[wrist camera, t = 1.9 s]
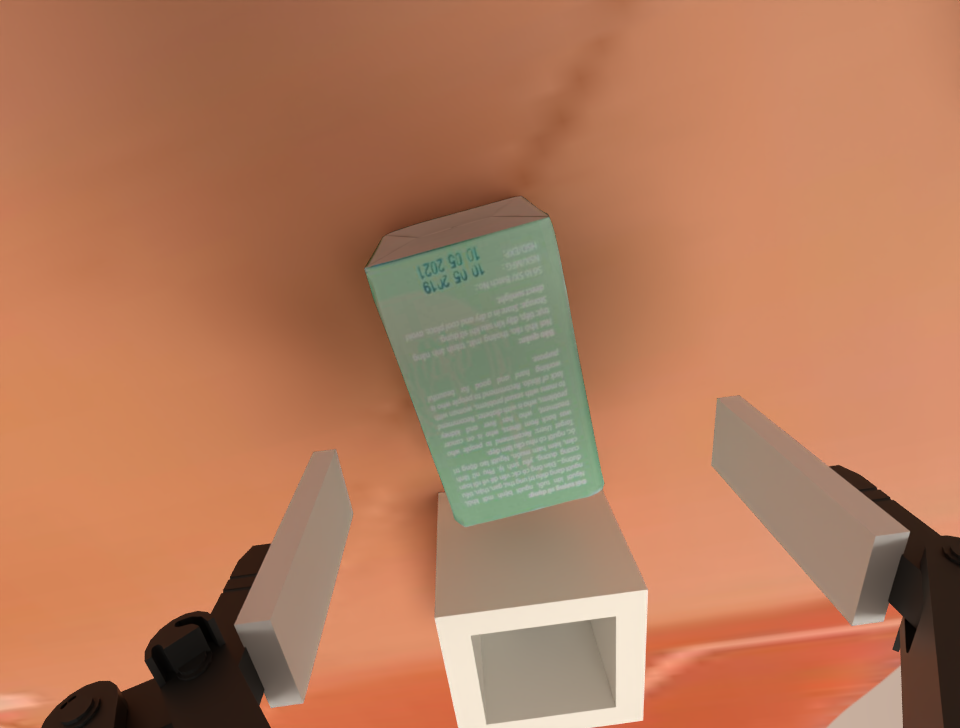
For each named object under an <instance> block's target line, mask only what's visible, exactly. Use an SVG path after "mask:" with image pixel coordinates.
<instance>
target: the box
mask: <svg viewBox="0 0 960 728" xmlns="http://www.w3.org/2000/svg"><path fill="white" fill-rule="evenodd" d="M364 269H365V272H366V275H367V279H368V282H369V285H370V289H371V292H372V295H373V299H374V302H375V304H376V307H377V309H378V312H379V315H380V317H381V320H382V323H383V325H384V328H385V330H386V333H387V336H388V338H389V341H390V344H391V346H392V349H393V352H394V354H395V357H396V360H397V362H398V365H399V368H400V370H401V373H402V376H403V378H404V381H405V384H406V386H407V389H408V392H409V394H410V397H411V400H412V403H413V405H414V408H415V411H416V413H417V416H418V419H419V421H420V424H421V427H422V430H423V433H424V435H425V438H426V441H427V444H428V447H429V449H430V452H431V455H432V457H433V460H434V463H435V466H436V468H437V471H438V474H439V476H440V479H441V482H442V484H443V487H444V490H445V492H446V495H447V498H448V501H449V503H450V506H451V509H452V512H453V516H454V519H455V520H456V521H457V522H458V523H459V524H461V525H462V526H464V527H469V526H473V525H476V524H481V523H485V522H489V521H493V520H498V519H502V518H506V517H510V516H514V515H518V514H522V513H526V512H530V511H534V510H538V509H541V508H545V507H549V506H553V505H557V504H560V503H564V502H568V501H572V500H576V499H581V498H585V497H589V496H592V495H594V494H597V493H598V492H599V491H601V490H602V489H603V486H604V480H603V476H602V473H601V467H600V462H599V457H598V452H597V447H596V442H595V437H594V432H593V427H592V422H591V417H590V411H589V406H588V401H587V396H586V391H585V386H584V381H583V376H582V371H581V366H580V361H579V356H578V351H577V345H576V340H575V335H574V330H573V324H572V318H571V313H570V307H569V301H568V296H567V290H566V285H565V280H564V275H563V270H562V265H561V260H560V255H559V250H558V246H557V241H556V236H555V232H554V229H553V225H552V222H551V220H550V218H549V215H548V214H547V213H545V212H543V211H541V210H539V209H538V208H537V207H535V206H534V205H533V204H532V203H530V202H529V201H528V200H526V199H525V198H524V197H522V196H518V197H513V198H509V199H505V200H502V201H498V202H494V203H491V204H487V205H483V206H480V207H476V208H472V209H469V210H465V211H461V212H458V213H454V214H450V215H447V216H443V217H440V218H436V219H432V220H429V221H425V222H422V223H418V224H415V225H412V226H409V227H406V228H403V229H400V230H397V231H394V232H391V233H389V234H387V235H385V236H384V237H382V239H381V241H380V243H379V244H378V246H377V248H376V250H375V251H374V253H373V255H372V257H371V258H370V260H369V262H368V263H367V265H366V267H365V268H364Z"/></svg>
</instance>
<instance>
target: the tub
mask: <svg viewBox="0 0 960 728" xmlns="http://www.w3.org/2000/svg"><path fill="white" fill-rule="evenodd" d="M647 602H648V588H647V586H646V584H645V582H644V580H643V577H642V575H641V573H640V571H639V569H638V567H637V564H636V562H635V560H634V558H633V556H632V553H631V551H630V549H629V547H628V545H627V542H626V540H625V538H624V536H623V534H622V532H621V529H620V527H619V525H618V523H617V521H616V518H615V516H614V514H613V512H612V510H611V507H610V505H609V503H608V501H607V499H606V496H605V494H604V492H603V490H601V491H599V492H598V493H597V494H594V495H592V496H589V497H585V498H581V499H576V500H572V501H568V502H564V503H560V504H557V505H553V506H549V507H545V508H541V509H538V510H534V511H530V512H526V513H522V514H518V515H514V516H510V517H506V518H502V519H498V520H493V521H489V522H485V523H481V524H476V525H473V526H469V527H464V526H462V525H461V524H459V523H458V522H457V521H456V520H455V519H454V516H453V512H452V509H451V506H450V503H449V501H448V498H447V495H446V492H441V493H438V520H437V554H436V587H435V622H436V627H437V631H438V636H439V641H440V645H441V650H442V654H443V659H444V664H445V668H446V673H447V677H448V682H449V687H450V691H451V696H452V700H453V705H454V710H455V714H456V719H457V723H458V728H592V727H599V726H607V725H614V724H621V723H629V722H636V721H643V707H644V681H645V655H646V629H647Z"/></svg>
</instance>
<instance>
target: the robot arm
mask: <svg viewBox="0 0 960 728" xmlns="http://www.w3.org/2000/svg"><path fill="white" fill-rule="evenodd" d="M711 465H712V466H713V468H714V469H715V470H716V471H717V472H718V473H719V474H720V476H721V477H722V478H723V479H724V480H725V481H726V482H727V484H728V485H729V486H730V487H731V488H732V489H733V490H734V492H735V493H736V494H737V495H738V496H739V497H740V498H741V500H742V501H743V502H744V503H745V504H746V505H747V506H748V508H749V509H750V510H751V511H752V512H753V513H754V514H755V516H756V517H757V518H758V519H759V520H760V521H761V522H762V524H763V525H764V526H765V527H766V528H767V529H768V530H769V532H770V533H771V534H772V535H773V536H774V537H775V538H776V540H777V541H778V542H779V543H780V544H781V545H782V546H783V548H784V549H785V550H786V551H787V552H788V553H789V554H790V556H791V557H792V558H793V559H794V560H795V561H796V562H797V564H798V565H799V566H800V567H801V568H802V569H803V570H804V572H805V573H806V574H807V575H808V576H809V577H810V578H811V580H812V581H813V582H814V583H815V584H816V585H817V586H818V588H819V589H820V590H821V591H822V592H823V593H824V594H825V596H826V597H827V598H828V599H829V600H830V601H831V602H832V604H833V605H834V606H835V607H836V608H837V609H838V610H839V612H840V613H841V614H842V615H843V616H844V617H845V618H846V620H847V621H848V622H849V623H850V624H851V625H852V626H855V625H862V624H869V623H876V622H883V621H884V618H885V614H886V611H887V608H888V604H889V603H890V604H891V605H892V606H893V607H894V608H895V609H896V610H897V611H898V612H899V613H900V614H901V615H902V616H903V618H902V621H901V624H900V627H899V631H898V634H897V637H896V640H895V643H894V646H893V649H892V650H895V651H897V652H899V650H900V652H901V677H902V678H901V679H902V710H903V728H960V538H959V537H953V536H941V535H939V534H938V533H937V532H935V531H934V530H933V529H931V528H930V527H929V526H927V525H926V524H925V523H923V522H922V521H921V520H919V519H918V518H917V517H915V516H914V515H913V514H911V513H910V512H909V511H907V510H906V509H905V508H903V507H902V506H901V505H899V504H898V503H897V502H896V501H894V500H891V499H890V497H889V496H888V495H886V494H885V493H884V492H882V491H881V490H877V487H876V486H874V485H873V484H872V483H870V482H869V481H868V480H866V479H865V478H864V477H862V476H861V475H859V474H857V473H855V472H853V471H851V470H849V469H846V468H844V467H842V466H840V465H836V466H827V465H826V464H825V463H824V462H822V461H821V460H820V459H819V458H817V457H816V456H815V455H814V454H812V453H811V452H810V451H809V450H807V449H806V448H805V447H803V446H802V445H801V444H800V443H798V442H797V441H796V440H795V439H793V438H792V437H791V436H790V435H788V434H787V433H786V432H785V431H783V430H782V429H781V428H780V427H778V426H777V425H776V424H775V423H773V422H772V421H771V420H770V419H768V418H767V417H766V416H765V415H763V414H762V413H761V412H760V411H758V410H757V409H756V408H754V407H753V406H752V405H751V404H749V403H748V402H747V401H746V400H744V399H743V398H742V397H741V396H739V395H738V396H730V397H723V398H717V407H716V418H715V430H714V441H713V453H712V464H711ZM352 517H353V510H352V507H351V503H350V499H349V496H348V492H347V488H346V485H345V481H344V477H343V474H342V470H341V466H340V463H339V459H338V455H337V452H336V449H333V450H325V451H318V452H313V454H312V456H311V458H310V460H309V463H308V465H307V467H306V469H305V471H304V473H303V476H302V478H301V480H300V482H299V484H298V487H297V489H296V491H295V493H294V495H293V497H292V500H291V502H290V504H289V506H288V508H287V511H286V513H285V515H284V517H283V519H282V521H281V524H280V526H279V528H278V530H277V532H276V535H275V537H274V539H273V541H272V543H271V544H264V545H256V546H252V547H251V549H250V550H249V551H248V552H247V553H246V554H245V555H244V556H243V557H242V558H241V559H240V560H239V561H238V563H237V565H236V566H235V568H234V570H233V572H232V574H231V576H230V580H228V582H227V584H226V586H225V588H224V589H223V593H221V595H220V597H219V599H218V601H217V603H216V605H215V607H214V609H213V611H212V612H211V614H209V613H208V612H202V611H196V612H191V613H187V614H184V615H182V616H180V617H178V618H176V619H174V620H172V621H171V622H169V623H168V624H167V625H165V626H164V627H163V628H161V629H160V630H159V631H158V632H157V634H156V635H155V636H154V637H153V638H152V639H151V640H150V642H149V644H148V646H147V648H146V650H145V663H146V664H147V666H148V668H149V670H150V671H151V673H152V675H153V677H154V679H151V680H149V681H146V682H144V683H142V684H139V685H137V686H134V687H132V688H129V689H127V690H125V691H122V692H120V690H119V689H118V687H117V685H115V684H114V683H112V682H111V681H98V682H95V683H92V684H89V685H86V686H84V687H82V688H81V689H79V690H77V691H76V692H74V693H72V694H71V695H69V696H68V697H67V698H66V699H65V700H63V701H62V702H61V703H60V704H59V705H57V706H56V707H55V709H54V710H53V711H52V712H51V713H50V715H49V716H48V717H47V718H46V719H45V721H44V723H43V725H42V727H41V728H271V727H270V725H269V723H268V722H267V720H266V718H265V716H264V714H263V712H262V710H261V708H260V707H259V705H260V702H261V699H262V696H263V693H264V694H265V696H266V698H267V700H268V703H269V705H270V707H271V708H273V707H280V706H287V705H294V704H302V703H304V699H305V695H306V691H307V688H308V684H309V680H310V676H311V672H312V669H313V665H314V661H315V657H316V654H317V650H318V646H319V642H320V638H321V635H322V631H323V627H324V623H325V619H326V616H327V612H328V608H329V604H330V600H331V597H332V593H333V589H334V585H335V582H336V578H337V574H338V570H339V566H340V563H341V559H342V555H343V551H344V547H345V544H346V540H347V536H348V532H349V529H350V525H351V521H352Z"/></svg>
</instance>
